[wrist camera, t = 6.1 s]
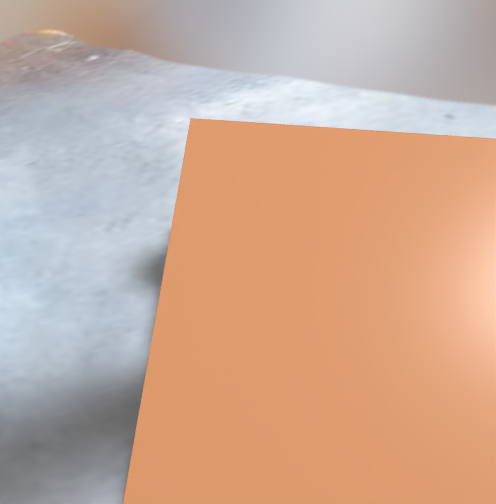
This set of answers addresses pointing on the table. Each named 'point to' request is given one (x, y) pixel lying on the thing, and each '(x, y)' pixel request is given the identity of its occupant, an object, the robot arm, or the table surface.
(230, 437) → the fader tab
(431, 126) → the table surface
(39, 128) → the table surface
